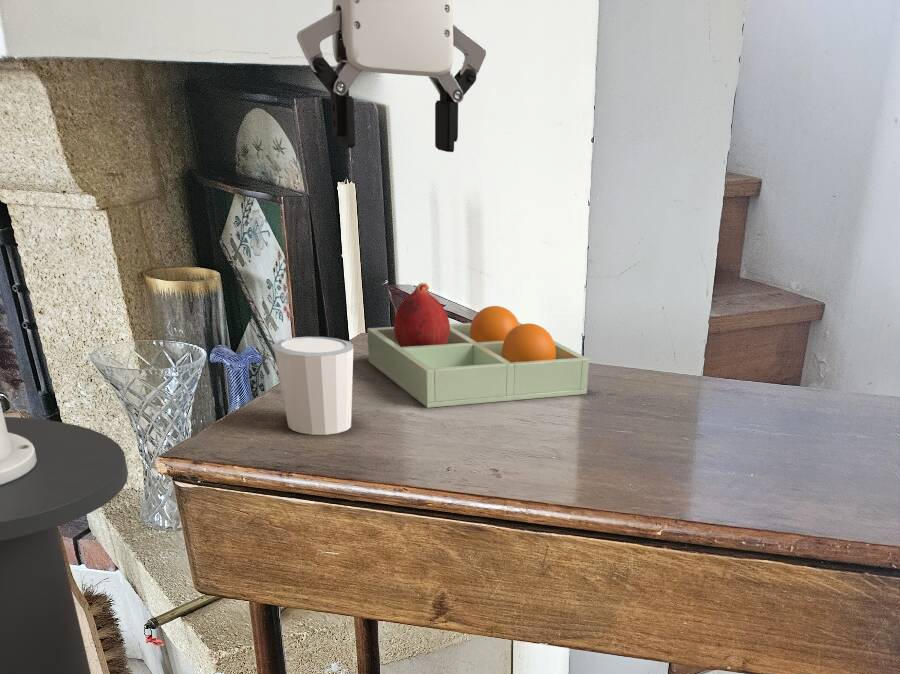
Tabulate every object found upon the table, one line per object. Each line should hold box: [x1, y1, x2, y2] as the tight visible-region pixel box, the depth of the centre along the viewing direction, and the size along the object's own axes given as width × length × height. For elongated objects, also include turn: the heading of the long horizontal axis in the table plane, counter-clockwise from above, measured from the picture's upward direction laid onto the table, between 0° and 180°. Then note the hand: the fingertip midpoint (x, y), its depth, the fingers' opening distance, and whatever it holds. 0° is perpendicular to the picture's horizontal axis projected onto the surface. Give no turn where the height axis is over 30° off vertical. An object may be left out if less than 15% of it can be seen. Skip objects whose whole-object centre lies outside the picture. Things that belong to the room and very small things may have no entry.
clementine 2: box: [502, 322, 556, 363], centre depth 107 cm, size 6×6×6 cm
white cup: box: [273, 336, 354, 436], centre depth 92 cm, size 7×7×7 cm
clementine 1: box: [470, 305, 520, 342], centre depth 113 cm, size 6×6×6 cm
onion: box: [393, 282, 451, 347], centre depth 108 cm, size 6×6×8 cm
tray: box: [366, 322, 590, 409], centre depth 109 cm, size 18×18×4 cm
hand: (396, 148), depth 97 cm, fingers open, 9 cm apart
